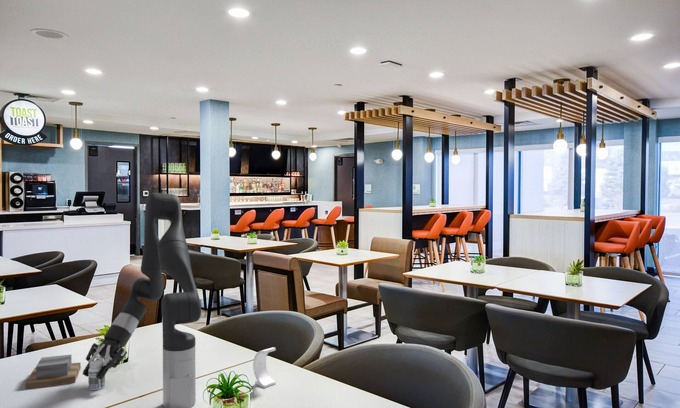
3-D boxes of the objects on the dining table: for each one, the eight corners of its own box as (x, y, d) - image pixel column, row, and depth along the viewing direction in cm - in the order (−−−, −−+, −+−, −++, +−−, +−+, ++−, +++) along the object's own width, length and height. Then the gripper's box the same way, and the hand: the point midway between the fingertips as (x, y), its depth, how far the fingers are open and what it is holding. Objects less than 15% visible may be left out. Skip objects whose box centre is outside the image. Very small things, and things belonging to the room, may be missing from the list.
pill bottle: (100, 383, 158) (100, 358, 158) (107, 387, 155) (107, 361, 155) (85, 388, 155) (85, 362, 154) (92, 391, 152) (92, 365, 151)
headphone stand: (264, 388, 155) (264, 351, 155) (253, 382, 160) (253, 347, 159) (275, 384, 159) (275, 347, 158) (264, 379, 163) (264, 343, 163)
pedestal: (75, 382, 159) (75, 364, 159) (25, 388, 154) (25, 370, 154) (80, 368, 172) (80, 351, 172) (34, 373, 167) (34, 356, 167)
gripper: (99, 321, 164) (68, 368, 154) (131, 326, 159) (100, 375, 148) (112, 332, 169) (83, 378, 159) (143, 337, 164) (115, 385, 153)
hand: (91, 376), depth 153 cm, fingers open, 5 cm apart
